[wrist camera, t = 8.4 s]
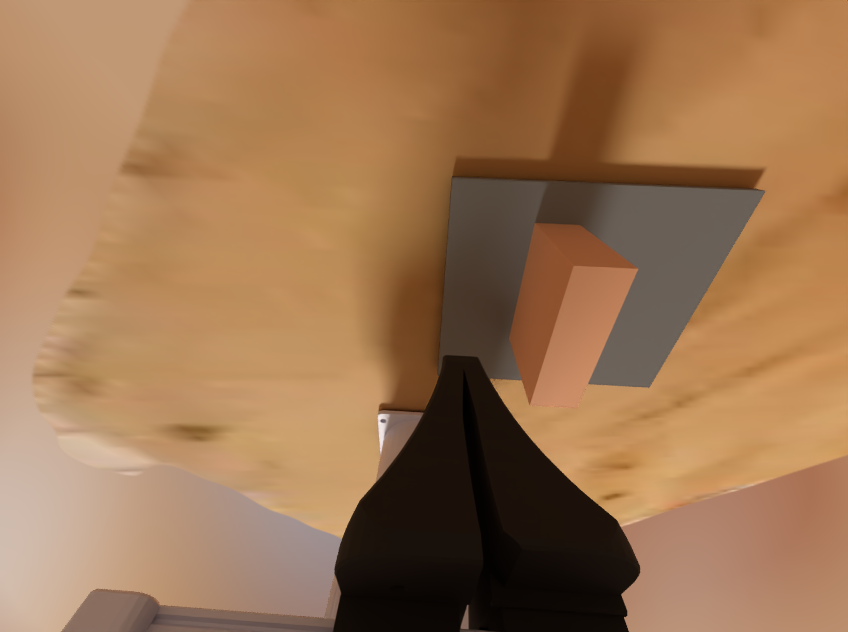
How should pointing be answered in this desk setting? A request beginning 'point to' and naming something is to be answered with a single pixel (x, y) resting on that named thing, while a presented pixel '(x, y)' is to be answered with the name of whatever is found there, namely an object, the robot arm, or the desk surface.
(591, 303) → the slab
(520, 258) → the mat
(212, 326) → the desk surface
